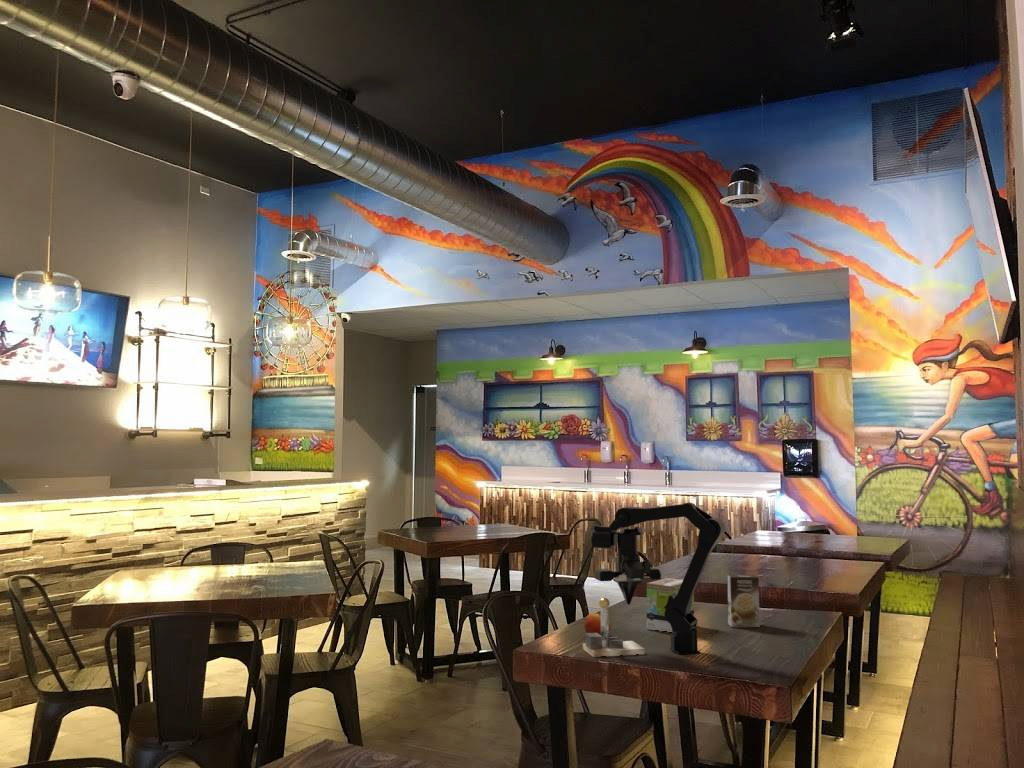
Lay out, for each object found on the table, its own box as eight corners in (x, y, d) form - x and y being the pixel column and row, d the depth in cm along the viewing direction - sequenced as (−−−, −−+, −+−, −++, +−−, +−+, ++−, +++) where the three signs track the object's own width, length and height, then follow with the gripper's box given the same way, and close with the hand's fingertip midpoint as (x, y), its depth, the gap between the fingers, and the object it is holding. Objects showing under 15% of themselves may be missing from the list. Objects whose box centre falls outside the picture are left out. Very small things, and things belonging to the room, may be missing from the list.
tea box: (674, 633, 254) (673, 585, 255) (645, 629, 260) (644, 582, 261) (695, 625, 266) (694, 579, 267) (667, 621, 272) (666, 576, 273)
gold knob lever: (608, 644, 233) (607, 596, 234) (611, 647, 230) (610, 598, 231) (589, 645, 232) (588, 597, 233) (592, 648, 229) (591, 599, 230)
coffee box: (731, 627, 262) (729, 576, 264) (727, 623, 269) (726, 573, 270) (760, 628, 262) (758, 577, 263) (756, 623, 268) (754, 574, 269)
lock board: (632, 645, 238) (632, 628, 239) (644, 654, 228) (644, 636, 229) (582, 648, 235) (582, 631, 235) (593, 657, 225) (593, 639, 226)
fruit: (574, 630, 252) (586, 607, 254) (594, 642, 254) (606, 619, 256) (585, 636, 245) (598, 611, 247) (606, 648, 247) (618, 623, 249)
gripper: (605, 554, 230) (606, 610, 229) (668, 552, 234) (669, 607, 233) (593, 549, 241) (594, 603, 240) (653, 548, 245) (654, 601, 244)
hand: (628, 604), depth 239 cm, fingers closed
